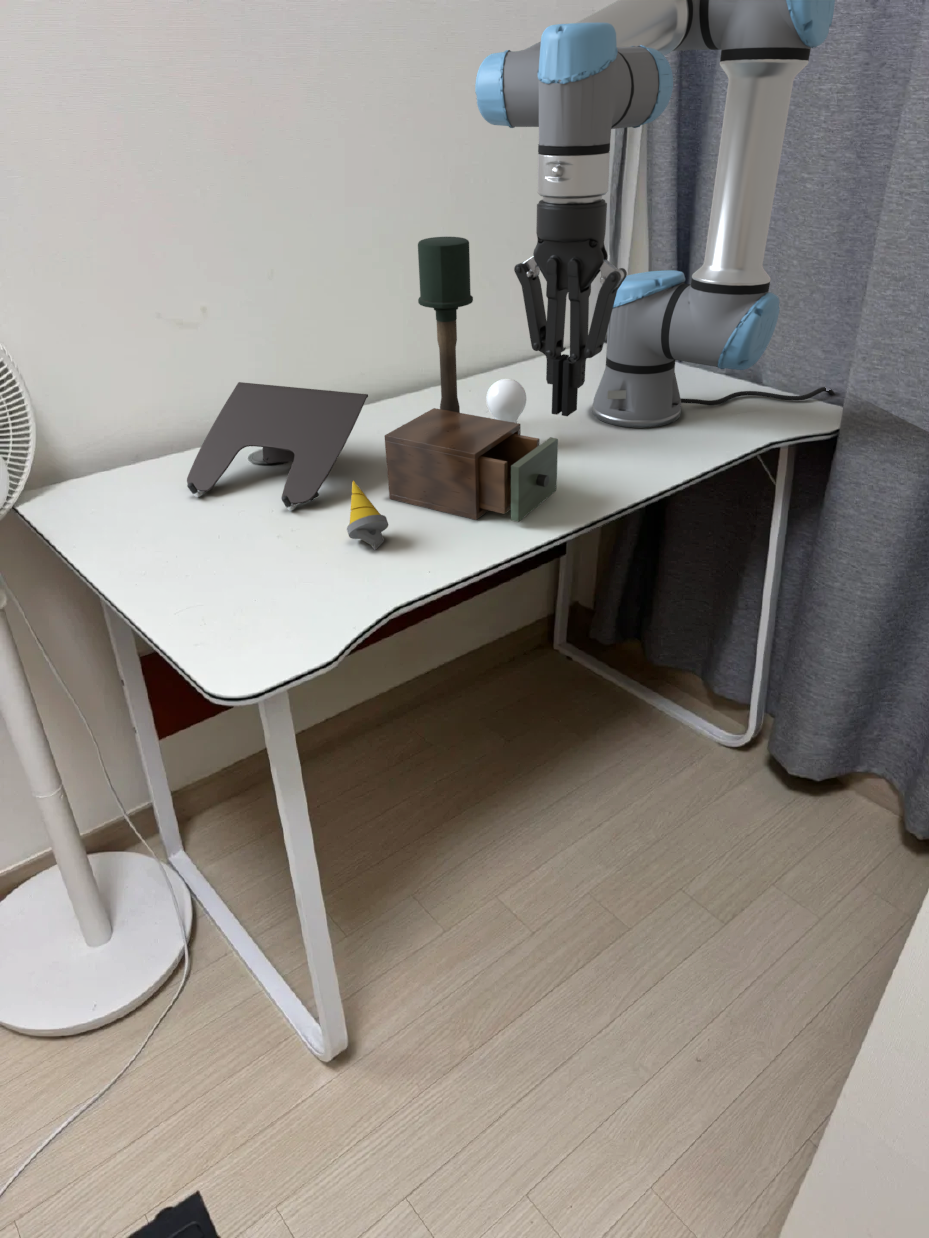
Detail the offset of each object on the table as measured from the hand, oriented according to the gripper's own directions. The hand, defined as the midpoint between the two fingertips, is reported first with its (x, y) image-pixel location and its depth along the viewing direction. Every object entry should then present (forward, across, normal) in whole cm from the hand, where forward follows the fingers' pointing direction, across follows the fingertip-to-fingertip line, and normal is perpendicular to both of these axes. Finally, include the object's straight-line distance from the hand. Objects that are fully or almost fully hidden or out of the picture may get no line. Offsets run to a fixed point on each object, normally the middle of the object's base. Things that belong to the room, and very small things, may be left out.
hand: (564, 411), depth 105 cm
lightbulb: (+17, -21, +23) cm, 35 cm away
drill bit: (+17, -22, -14) cm, 31 cm away
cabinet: (+16, -19, +4) cm, 25 cm away
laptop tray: (+17, -46, -4) cm, 49 cm away
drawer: (+16, -11, +4) cm, 20 cm away
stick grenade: (+17, -33, +25) cm, 45 cm away
